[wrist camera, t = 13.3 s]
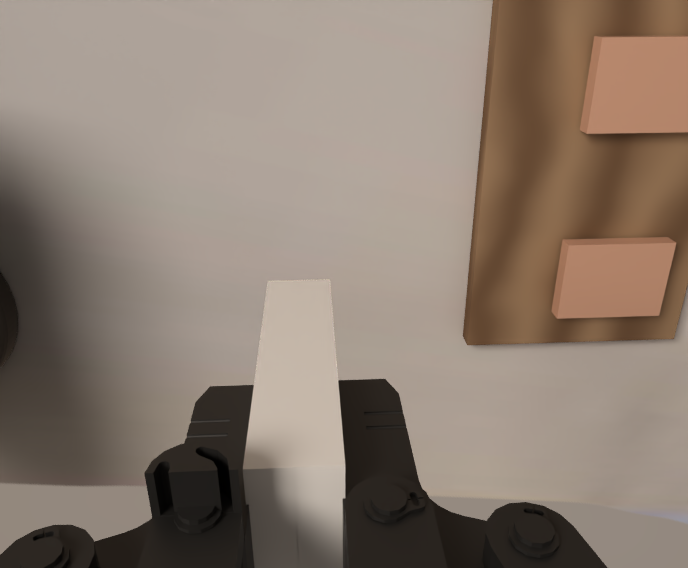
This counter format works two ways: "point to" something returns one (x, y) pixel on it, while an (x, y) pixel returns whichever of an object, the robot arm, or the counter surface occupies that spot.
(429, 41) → the counter surface
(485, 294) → the board
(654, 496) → the counter surface
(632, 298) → the tile
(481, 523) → the robot arm
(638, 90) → the tile
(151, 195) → the counter surface
